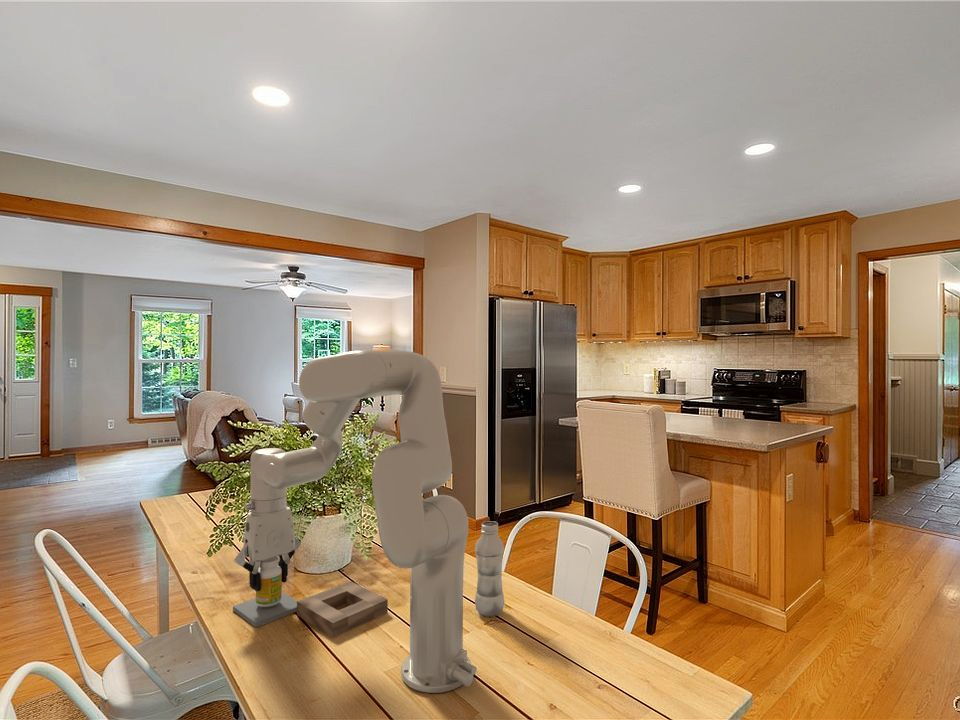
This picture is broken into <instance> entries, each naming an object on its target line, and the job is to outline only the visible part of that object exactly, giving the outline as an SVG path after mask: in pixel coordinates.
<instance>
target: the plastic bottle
mask: <svg viewBox="0 0 960 720" xmlns="http://www.w3.org/2000/svg"><path fill="white" fill-rule="evenodd" d="M480 533H481V535H480V537H479V538H478V539H477V541H476V542H475V545H474V546H475V547H474V552H475V557H476V558H475V559H476V560H475V561H476V568H477V582H476V583H477V584H476V592H475V597H474V598H475V599H474V605H475V610H476V611H477V613H478V614H479V615H481V616H482V617H490V618H491V617H497V616H499V615H500V614H501V613H502V612H503V611H504V608H505V596H504V591H503V581H502V575H503V573H502V572H503V559H504V552H505V546H504V542H503V541H502V539H501V537H500V536H499V535H498V533H499V523H498V522H497V521H494V520H493V521H490V520H487V521H483V522H481V529H480Z"/></svg>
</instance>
